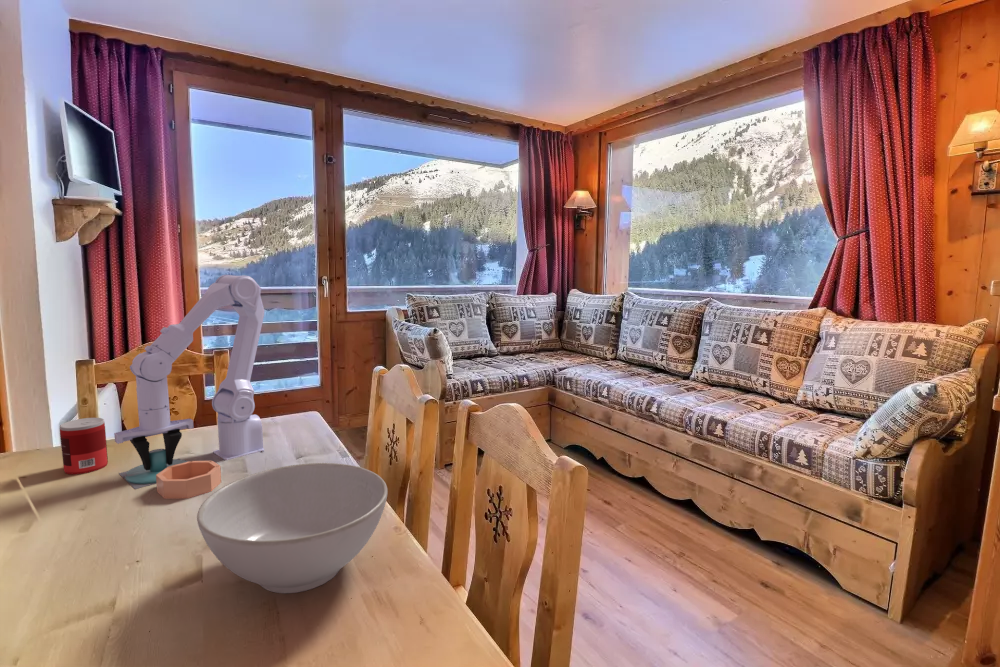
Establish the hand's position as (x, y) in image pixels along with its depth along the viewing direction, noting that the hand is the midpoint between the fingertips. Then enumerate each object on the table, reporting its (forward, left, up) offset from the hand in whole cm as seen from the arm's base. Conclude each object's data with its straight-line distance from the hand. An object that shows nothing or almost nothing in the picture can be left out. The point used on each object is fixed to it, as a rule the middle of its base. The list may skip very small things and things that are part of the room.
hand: (158, 466), depth 116 cm
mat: (0, 0, -2) cm, 2 cm away
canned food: (+10, -15, -2) cm, 18 cm away
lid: (0, 0, -2) cm, 2 cm away
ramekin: (-2, +13, -2) cm, 13 cm away
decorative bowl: (-3, +57, -2) cm, 57 cm away
